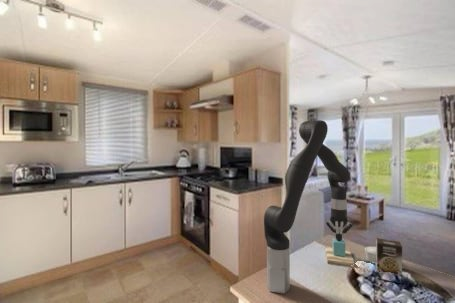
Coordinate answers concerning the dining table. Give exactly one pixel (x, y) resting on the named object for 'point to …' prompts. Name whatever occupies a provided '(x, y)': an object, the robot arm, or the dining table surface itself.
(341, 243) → the teal toy cube
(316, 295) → the dining table surface
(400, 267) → the coffee box
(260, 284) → the dining table surface
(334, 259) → the post block
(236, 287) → the dining table surface
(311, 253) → the dining table surface
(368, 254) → the ramekin
